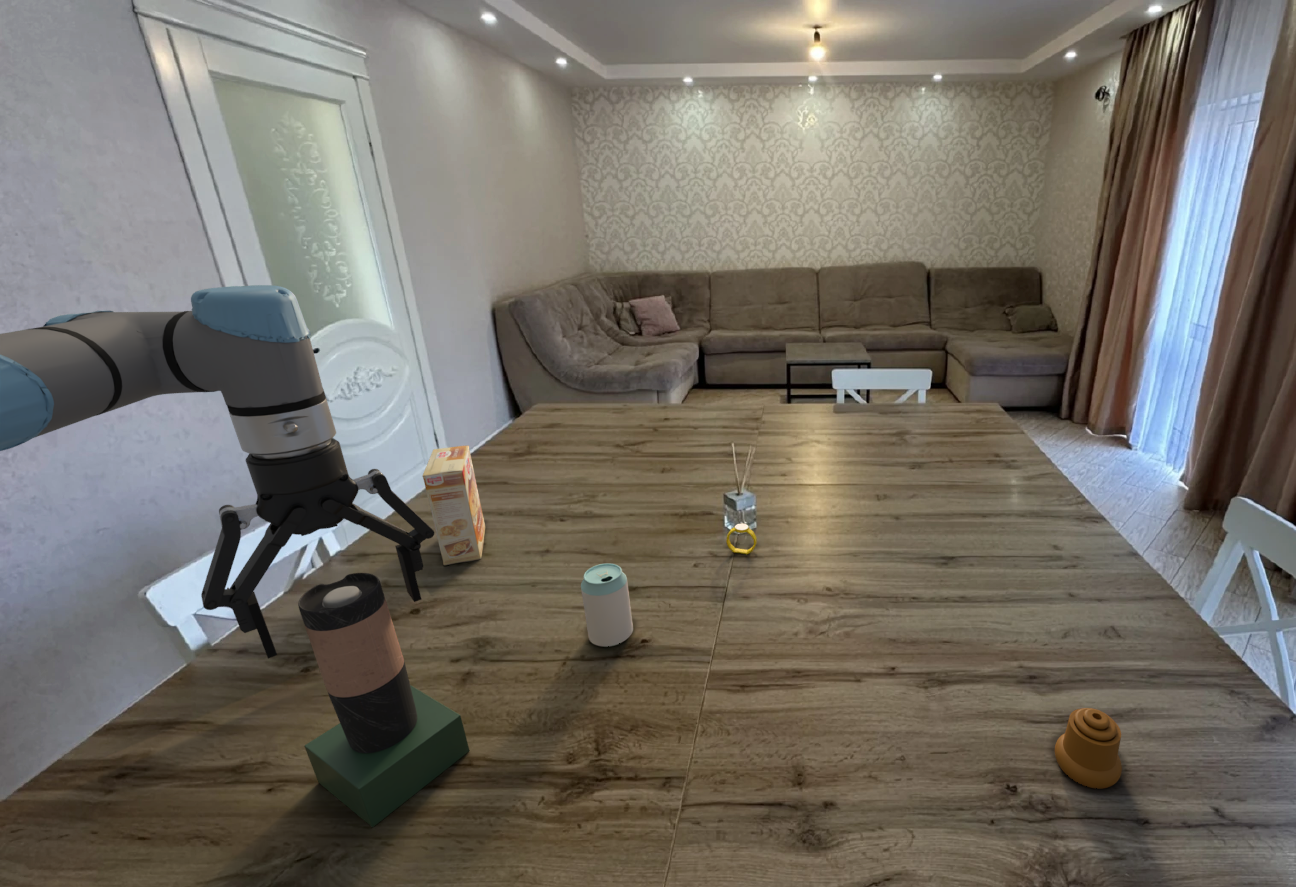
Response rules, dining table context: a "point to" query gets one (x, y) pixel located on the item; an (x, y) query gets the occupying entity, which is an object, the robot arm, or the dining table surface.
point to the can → (606, 605)
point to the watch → (741, 529)
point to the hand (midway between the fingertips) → (347, 621)
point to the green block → (389, 761)
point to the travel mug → (360, 660)
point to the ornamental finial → (1090, 749)
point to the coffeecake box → (455, 504)
